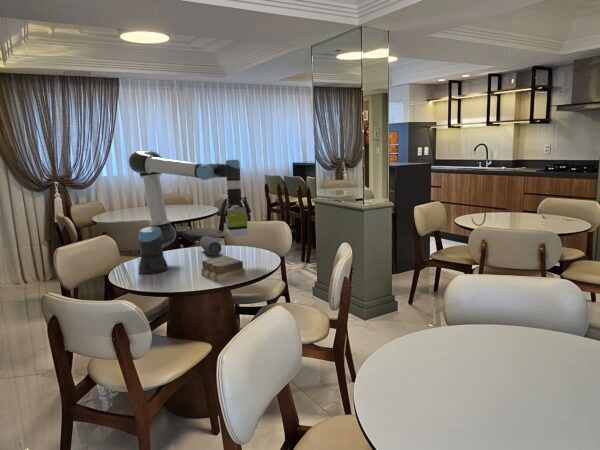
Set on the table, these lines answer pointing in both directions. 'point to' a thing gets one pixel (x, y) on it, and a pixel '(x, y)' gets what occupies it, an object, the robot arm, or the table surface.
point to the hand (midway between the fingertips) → (235, 227)
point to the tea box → (236, 221)
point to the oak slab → (223, 275)
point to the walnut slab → (222, 265)
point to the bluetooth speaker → (210, 245)
